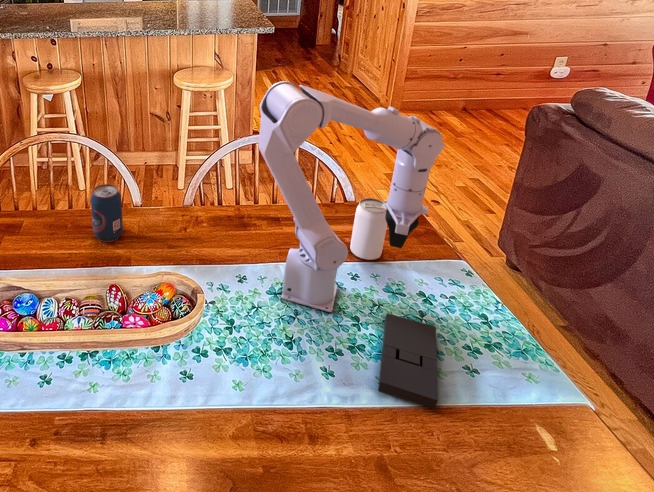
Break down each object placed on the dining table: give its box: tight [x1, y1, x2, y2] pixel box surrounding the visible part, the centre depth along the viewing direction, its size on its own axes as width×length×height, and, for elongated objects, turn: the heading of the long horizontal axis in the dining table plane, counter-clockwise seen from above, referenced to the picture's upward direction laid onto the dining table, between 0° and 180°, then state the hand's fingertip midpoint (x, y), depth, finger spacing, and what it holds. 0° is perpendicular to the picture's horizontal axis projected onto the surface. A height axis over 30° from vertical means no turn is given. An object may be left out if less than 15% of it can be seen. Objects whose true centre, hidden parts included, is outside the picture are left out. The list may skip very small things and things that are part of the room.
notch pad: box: [377, 344, 439, 410], centre depth 81 cm, size 8×8×2 cm
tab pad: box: [381, 312, 438, 367], centre depth 87 cm, size 8×10×2 cm
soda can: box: [90, 183, 124, 243], centre depth 116 cm, size 7×7×12 cm
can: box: [349, 197, 388, 261], centre depth 109 cm, size 6×6×12 cm
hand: (395, 245), depth 98 cm, fingers closed
